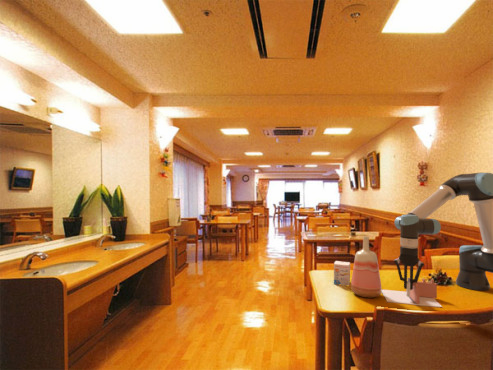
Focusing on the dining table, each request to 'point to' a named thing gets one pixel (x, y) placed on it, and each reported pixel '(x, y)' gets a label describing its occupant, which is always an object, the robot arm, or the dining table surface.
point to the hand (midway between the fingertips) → (408, 295)
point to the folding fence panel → (415, 293)
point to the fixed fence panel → (427, 288)
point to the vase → (366, 272)
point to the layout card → (408, 299)
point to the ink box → (342, 273)
